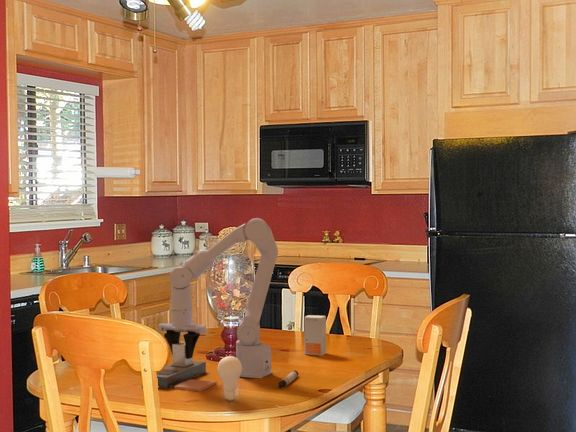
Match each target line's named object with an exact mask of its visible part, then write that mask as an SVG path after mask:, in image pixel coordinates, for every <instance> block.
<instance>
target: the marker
mask: <svg viewBox="0 0 576 432" xmlns="http://www.w3.org/2000/svg"><path fill="white" fill-rule="evenodd" d="M298 376H299V372H298V370H294V369H293V370H292V371H291V372H290V373H289V374H288V375H286V376H285V377H284V378H282V379H281V380H280V381H278V383H277V387H278V389H284V388H286V387H287V386H289V384H291V383H292V382H293V381H294V380H296V379H297V378H298Z"/></svg>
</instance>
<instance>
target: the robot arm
mask: <svg viewBox="0 0 576 432" xmlns="http://www.w3.org/2000/svg"><path fill="white" fill-rule="evenodd" d="M274 237H275V236H274V234H273V232H272V229H271V227H270V226H269V224H267V222H266V221H265V220H264V219H262V218H260V217H255V218H254V217H253V218H251V219H250V220H248V222H247V223H246V222H245V223H243V224H242V225H239V226H237V227H236V228H234V229H232V230H231V231H230V232H228V234H226V235H225V236H224V237H222V238H221V239H220V240H219V241H217V242H216V243H215V244H214V245H213V246H211V247H210V248H209V249H201V248H200V250H197V249H196V250H194V252H192V254H193V255H191V256H190V257H189V258H188V259H186V260H185V261H181V262H179V266H177V267H175V268H173V270H172V271H171V272H170V275H169V279H168V280H169V283H170V284H171V285H170V290H171V292H170V310H171V315H170V316H171V323H169V322H168V323H165V322H163V323H159V324H157V325H158V326H157V328H158V330H157V331H158V332H165V333H163V336H164V338H165V340H166V341H167V344H168V346H169V348H170V352H171V355H172V357H173V349H172V344H174V343H177V342H180V338H181V333H183V335H182V336H183V339H184V342H185V344H186V357H187V359H190V358H192V359H193V357H194V352H195V351H194V350H195V349H196V345H197V342H198V340H199V339H200V336H201V335H203V334H206V333H207V326H206V325H200V324H195V323H193V312H192V311H193V310H192V292H191V283H192V280H196V279H197V278H199V277H200V276H202V275H203V274H204V273H205V272H206V271H208V270H209V269H211V268H212V267H213V266H214V263H215V259H216V258H218V257H219V256H220V255H222V254H223V253H225V252H226V251H227V250H228V249H230V248H232V247H233V246H234V245H235V244H238V243H244V242H247V240H249V241H250V242H251V243H253V244H254V246H256V248H257V251H259V252H258V253H260V259H259V263H258V264H257V265H258V266H257V268H256V273H255V277H254V281H253V284H252V287H251V292H250V294H249V295H250V296H249V298H248V303H247V306H246V309H245V313H244V316H243V318H242V319H241V320H240V321H239V323H238V324H237V325H238V326H237V328H236V329H237V330H236V337H237V340H236V341H235V347H236V348H235V350H236V351H235V352H236V354H235V355H236V356H235V357H236V358H237V359H238V360H239V361H240V362H241V365H242V372H241V375H240V377H241V378H251V379H263V378H265V377H266V376H269V375H270V374H272V373H273V370H272V348H271V346H270V345H269V344H265V343H262V340H263V339H260V334H261V333H260V332H261V325H260V321H261V316H262V313H263V310H264V306H265V303H266V298H267V296H268V295H267V294H268V291H269V288H270V284H271V280H272V277H273V276H272V275H273V272H274V269H275V266H276V262H277V257H278V254H279V248H278V245H277V244H276V243H277V242H276V240H275V238H274ZM240 377H239V378H240Z"/></svg>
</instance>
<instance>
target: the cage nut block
mask: <svg viewBox="0 0 576 432" xmlns="http://www.w3.org/2000/svg"><path fill="white" fill-rule="evenodd" d="M172 349H173V356H172V363H173V367H181V368H187V367H189V366H192V365H193V361H194V360H193V357H192V358H190V359H187V357H186V344H185V341H179V342H177V343H174V344H172Z"/></svg>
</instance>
